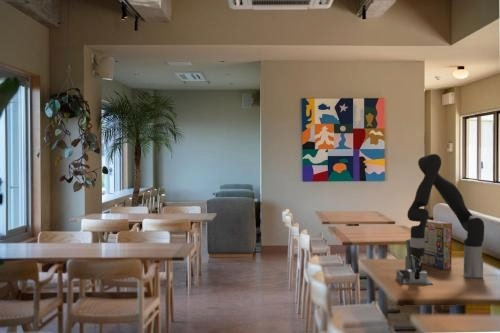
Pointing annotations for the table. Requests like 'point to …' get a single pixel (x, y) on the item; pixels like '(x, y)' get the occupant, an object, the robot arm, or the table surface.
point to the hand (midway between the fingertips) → (416, 278)
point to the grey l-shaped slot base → (402, 278)
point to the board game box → (438, 244)
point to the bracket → (408, 256)
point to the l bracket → (412, 276)
